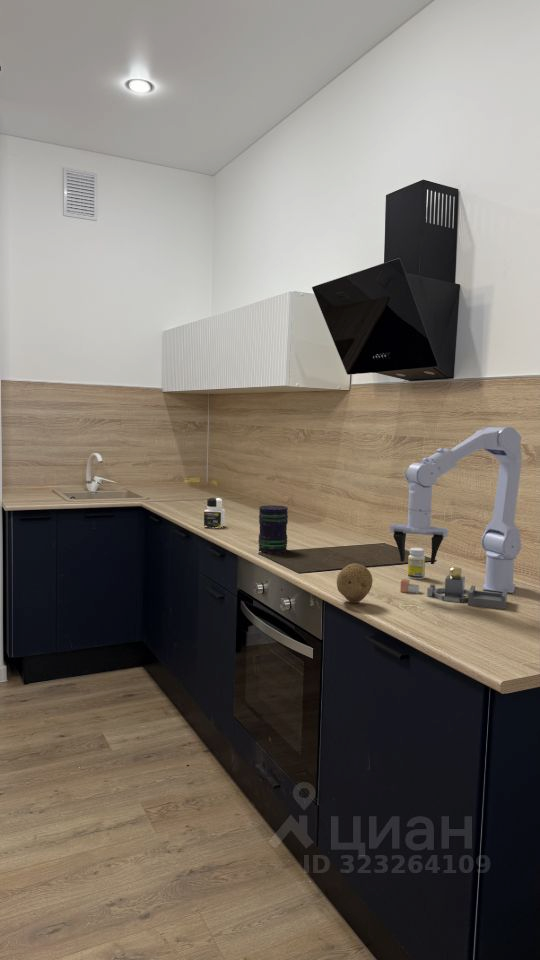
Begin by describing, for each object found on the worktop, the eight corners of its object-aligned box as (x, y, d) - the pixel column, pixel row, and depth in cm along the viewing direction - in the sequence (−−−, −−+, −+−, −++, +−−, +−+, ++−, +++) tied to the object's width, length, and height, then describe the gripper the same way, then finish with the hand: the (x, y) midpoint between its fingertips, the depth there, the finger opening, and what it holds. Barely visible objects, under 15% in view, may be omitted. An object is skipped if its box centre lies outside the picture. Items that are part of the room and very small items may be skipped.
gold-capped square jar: (446, 593, 182) (448, 565, 181) (464, 595, 180) (465, 567, 179) (444, 597, 178) (445, 569, 177) (462, 599, 176) (463, 571, 175)
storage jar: (281, 547, 242) (282, 505, 241) (291, 552, 233) (292, 508, 231) (254, 548, 239) (255, 505, 237) (263, 554, 229) (264, 509, 228)
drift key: (402, 589, 185) (402, 579, 185) (419, 591, 184) (419, 581, 183) (400, 591, 183) (400, 581, 183) (417, 593, 181) (417, 583, 181)
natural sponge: (369, 610, 165) (370, 568, 164) (332, 606, 167) (333, 566, 167) (373, 600, 174) (375, 561, 173) (338, 597, 176) (339, 558, 175)
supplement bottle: (413, 575, 203) (414, 546, 202) (427, 577, 200) (428, 549, 199) (404, 577, 200) (405, 548, 199) (418, 580, 196) (419, 551, 195)
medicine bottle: (203, 528, 280) (203, 498, 279) (208, 525, 287) (208, 496, 286) (220, 528, 279) (221, 499, 278) (224, 526, 286) (225, 497, 285)
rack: (471, 597, 178) (471, 585, 178) (506, 601, 175) (507, 589, 175) (467, 605, 171) (468, 592, 171) (504, 609, 168) (505, 596, 167)
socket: (432, 589, 186) (432, 581, 186) (477, 594, 182) (478, 586, 182) (425, 598, 177) (425, 590, 176) (473, 604, 172) (473, 596, 172)
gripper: (388, 509, 176) (386, 562, 177) (446, 513, 171) (444, 567, 172) (393, 506, 182) (391, 557, 184) (450, 510, 177) (447, 562, 178)
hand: (417, 562), depth 178 cm, fingers open, 7 cm apart
